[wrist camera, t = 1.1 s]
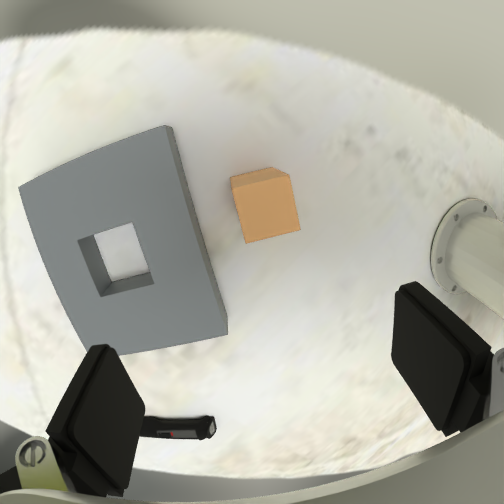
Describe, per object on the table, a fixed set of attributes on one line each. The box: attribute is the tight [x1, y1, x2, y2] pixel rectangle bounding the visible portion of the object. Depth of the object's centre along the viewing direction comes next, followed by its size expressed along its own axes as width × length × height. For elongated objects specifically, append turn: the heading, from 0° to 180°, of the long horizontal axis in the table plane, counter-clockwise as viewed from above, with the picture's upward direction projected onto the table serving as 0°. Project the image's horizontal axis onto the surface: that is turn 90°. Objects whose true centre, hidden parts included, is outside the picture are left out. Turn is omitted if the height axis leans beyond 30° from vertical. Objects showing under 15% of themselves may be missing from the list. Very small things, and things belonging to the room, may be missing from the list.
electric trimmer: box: [139, 416, 217, 440], centre depth 37 cm, size 4×16×3 cm, turn 93°
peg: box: [230, 167, 301, 244], centre depth 25 cm, size 4×4×8 cm
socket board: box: [18, 125, 228, 356], centre depth 28 cm, size 16×20×4 cm
